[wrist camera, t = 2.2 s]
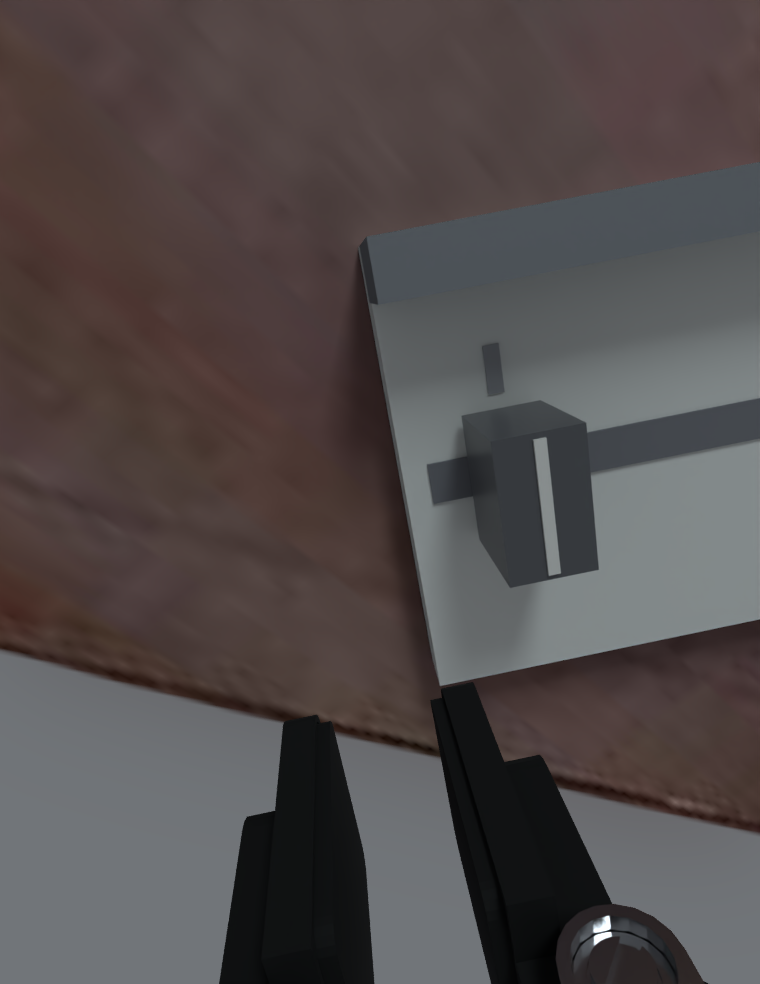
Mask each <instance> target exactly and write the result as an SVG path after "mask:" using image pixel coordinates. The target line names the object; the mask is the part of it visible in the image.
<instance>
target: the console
mask: <svg viewBox="0 0 760 984" xmlns="http://www.w3.org/2000/svg"><path fill="white" fill-rule="evenodd" d="M358 251H359V256H360V262H361V267H362V273H363V278H364V284H365V289H366V295H367V300H368V306H369V311H370V317H371V322H372V328H373V334H374V339H375V345H376V350H377V356H378V361H379V367H380V372H381V378H382V383H383V389H384V394H385V400H386V405H387V411H388V416H389V422H390V428H391V433H392V439H393V444H394V450H395V455H396V461H397V466H398V472H399V477H400V483H401V488H402V494H403V499H404V505H405V511H406V516H407V522H408V527H409V533H410V538H411V544H412V549H413V555H414V560H415V566H416V571H417V577H418V582H419V588H420V593H421V599H422V605H423V610H424V616H425V621H426V627H427V632H428V638H429V643H430V649H431V654H432V660H433V664H434V667H435V670H436V674H437V677H438V680H439V684H440V686H442V685H447V684H452V683H457V682H461V681H466V680H471V679H476V678H481V677H485V676H490V675H495V674H500V673H505V672H509V671H514V670H519V669H524V668H529V667H533V666H538V665H543V664H548V663H553V662H557V661H562V660H567V659H572V658H577V657H581V656H586V655H591V654H596V653H601V652H605V651H610V650H615V649H620V648H625V647H629V646H634V645H639V644H644V643H648V642H653V641H658V640H663V639H668V638H672V637H677V636H682V635H687V634H692V633H696V632H701V631H706V630H711V629H716V628H720V627H725V626H730V625H735V624H740V623H744V622H749V621H754V620H759V619H760V162H758V163H752V164H747V165H742V166H737V167H731V168H726V169H721V170H716V171H710V172H705V173H700V174H695V175H689V176H684V177H679V178H673V179H668V180H663V181H658V182H652V183H647V184H642V185H637V186H631V187H626V188H621V189H616V190H610V191H605V192H600V193H595V194H589V195H584V196H579V197H573V198H568V199H563V200H558V201H552V202H547V203H542V204H537V205H531V206H526V207H521V208H516V209H510V210H505V211H500V212H494V213H489V214H484V215H479V216H473V217H468V218H463V219H458V220H452V221H447V222H442V223H437V224H431V225H426V226H421V227H416V228H410V229H405V230H400V231H394V232H389V233H384V234H379V235H373V236H368V237H366V238H365V239H364V241H363V242H362V243H361V245H360V246H359V247H358ZM538 400H541V401H543V402H545V403H547V404H549V405H551V406H554V407H556V408H558V409H560V410H562V411H564V412H566V413H568V414H570V415H572V416H574V417H576V418H578V419H580V420H582V421H584V422H586V425H587V437H588V449H589V460H590V472H591V483H592V495H593V507H594V518H595V530H596V541H597V553H598V565H599V570H595V571H591V572H586V573H581V574H576V575H571V576H566V577H561V578H556V579H552V580H547V581H542V582H537V583H532V584H527V585H522V586H517V587H513V588H510V587H509V586H508V584H507V582H506V581H505V579H504V578H503V576H502V575H501V573H500V571H499V570H498V568H497V567H496V565H495V563H494V562H493V560H492V559H491V557H490V556H489V554H488V552H487V551H486V549H485V548H484V546H483V545H482V543H481V541H480V540H479V534H478V527H477V520H476V513H475V507H474V500H473V493H472V486H471V479H470V472H469V465H468V459H467V452H466V445H465V438H464V431H463V424H462V417H461V416H462V415H467V414H472V413H477V412H482V411H488V410H493V409H498V408H503V407H508V406H513V405H518V404H523V403H528V402H533V401H538Z"/></svg>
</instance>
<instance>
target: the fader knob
mask: <svg viewBox="0 0 760 984" xmlns="http://www.w3.org/2000/svg"><path fill="white" fill-rule="evenodd" d="M461 417H462V424H463V431H464V438H465V445H466V452H467V459H468V465H469V472H470V479H471V486H472V493H473V500H474V507H475V513H476V520H477V527H478V534H479V540H480V541H481V543H482V545H483V546H484V548H485V549H486V551H487V552H488V554H489V556H490V557H491V559H492V560H493V562H494V563H495V565H496V567H497V568H498V570H499V571H500V573H501V575H502V576H503V578H504V579H505V581H506V582H507V584H508V586H509V587H510V588H513V587H517V586H522V585H527V584H532V583H537V582H542V581H547V580H552V579H556V578H561V577H566V576H571V575H576V574H581V573H586V572H591V571H595V570H599V565H598V553H597V541H596V530H595V518H594V507H593V495H592V483H591V472H590V460H589V449H588V437H587V425H586V422H584V421H582V420H580V419H578V418H576V417H574V416H572V415H570V414H568V413H566V412H564V411H562V410H560V409H558V408H556V407H554V406H551V405H549V404H547V403H545V402H543V401H541V400H538V401H533V402H528V403H523V404H518V405H513V406H508V407H503V408H498V409H493V410H488V411H482V412H477V413H472V414H467V415H462V416H461Z"/></svg>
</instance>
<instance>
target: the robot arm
mask: <svg viewBox="0 0 760 984" xmlns="http://www.w3.org/2000/svg"><path fill="white" fill-rule="evenodd" d="M441 694H442V698H439V699H434V700H431V707H432V713H433V718H434V723H435V729H436V734H437V739H438V745H439V750H440V756H441V761H442V766H443V772H444V777H445V782H446V788H447V793H448V798H449V804H450V809H451V815H452V819H453V825H454V830H455V835H456V840H457V844H458V849H459V853H460V857H461V861H462V865H463V869H464V873H465V877H466V881H467V885H468V890H469V894H470V898H471V902H472V906H473V911H474V914H475V919H476V922H477V927H478V931H479V935H480V939H481V944H482V947H483V952H484V956H485V960H486V964H487V968H488V972H489V976H490V980H491V984H708V983H706V982H704V981H703V980H702V978H701V976H700V975H699V973H698V971H697V969H696V968H695V966H694V964H693V962H692V960H691V959H690V957H689V955H688V954H687V952H686V950H685V949H684V947H683V946H682V945H681V943H680V942H679V941H678V939H677V938H676V937H675V935H674V934H673V933H672V931H671V930H669V929H668V928H667V927H666V926H664V925H663V924H662V923H661V922H659V921H658V920H657V919H656V918H654V917H653V916H651V915H649V914H646V913H644V912H642V911H640V910H638V909H636V908H633V907H627V906H622V905H616V904H612V902H611V900H610V898H609V896H608V894H607V892H606V890H605V888H604V885H603V883H602V881H601V879H600V877H599V875H598V873H597V871H596V869H595V867H594V864H593V862H592V860H591V858H590V856H589V854H588V852H587V850H586V847H585V845H584V843H583V841H582V839H581V837H580V835H579V833H578V831H577V828H576V826H575V824H574V822H573V820H572V818H571V816H570V814H569V812H568V809H567V807H566V805H565V803H564V801H563V799H562V797H561V795H560V792H559V790H558V788H557V786H556V784H555V782H554V780H553V778H552V776H551V773H550V771H549V769H548V767H547V765H546V763H545V761H544V760H543V758H542V757H541V756H540V755H536V756H532V757H527V758H522V759H517V760H513V761H508V762H504V760H503V758H502V755H501V753H500V750H499V747H498V745H497V742H496V740H495V737H494V734H493V732H492V729H491V727H490V724H489V722H488V719H487V716H486V714H485V711H484V709H483V706H482V703H481V701H480V698H479V696H478V693H477V690H476V688H475V685H474V683H473V682H471V683H466V684H462V685H457V686H452V687H447V688H442V689H441ZM219 984H374V972H373V959H372V946H371V932H370V918H369V904H368V891H367V878H366V866H365V859H364V853H363V847H362V844H361V839H360V835H359V831H358V827H357V823H356V819H355V814H354V810H353V806H352V802H351V798H350V794H349V790H348V786H347V781H346V777H345V773H344V769H343V765H342V761H341V757H340V753H339V749H338V745H337V740H336V736H335V732H334V728H333V725H332V722H331V721H329V722H324V723H320V720H319V717H318V716H317V715H313V716H308V717H303V718H299V719H294V720H289V721H285V722H284V724H283V733H282V744H281V754H280V764H279V775H278V786H277V797H276V807H275V811H272V812H268V813H263V814H258V815H253V816H249V817H247V818H246V820H245V822H244V825H243V830H242V836H241V843H240V849H239V856H238V863H237V869H236V876H235V882H234V889H233V896H232V902H231V909H230V916H229V922H228V929H227V935H226V942H225V949H224V955H223V962H222V969H221V976H220V982H219Z"/></svg>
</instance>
